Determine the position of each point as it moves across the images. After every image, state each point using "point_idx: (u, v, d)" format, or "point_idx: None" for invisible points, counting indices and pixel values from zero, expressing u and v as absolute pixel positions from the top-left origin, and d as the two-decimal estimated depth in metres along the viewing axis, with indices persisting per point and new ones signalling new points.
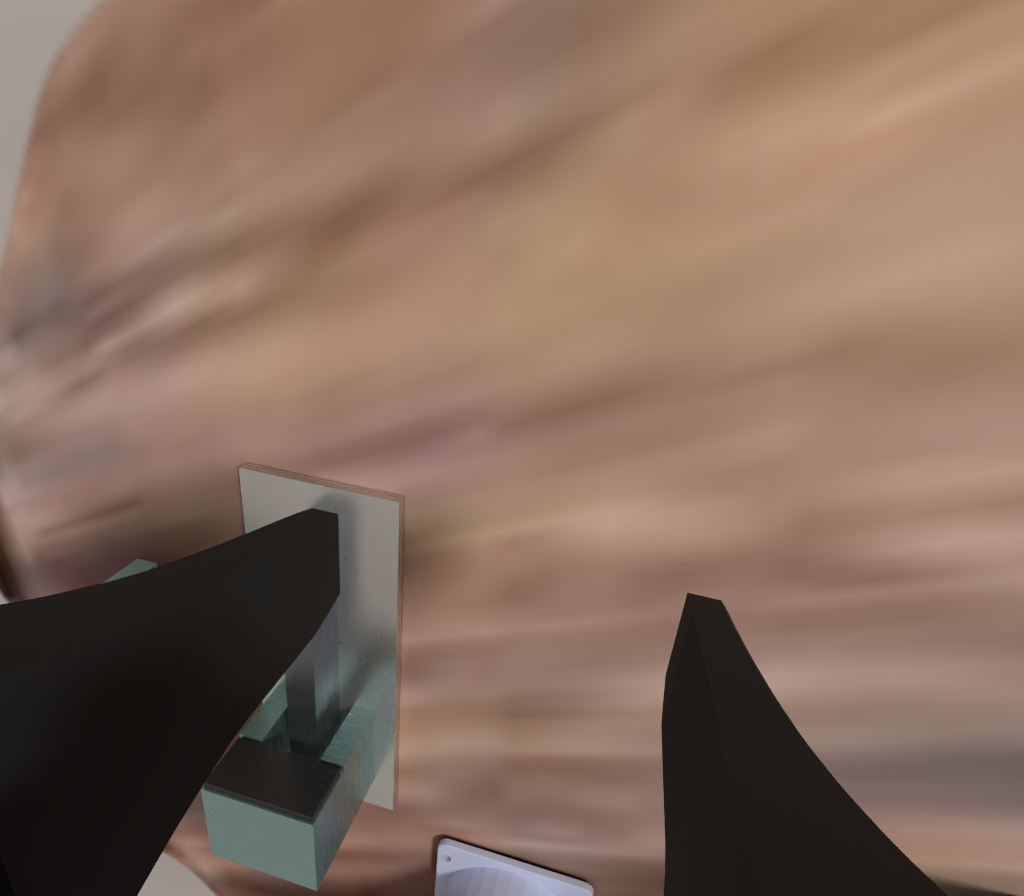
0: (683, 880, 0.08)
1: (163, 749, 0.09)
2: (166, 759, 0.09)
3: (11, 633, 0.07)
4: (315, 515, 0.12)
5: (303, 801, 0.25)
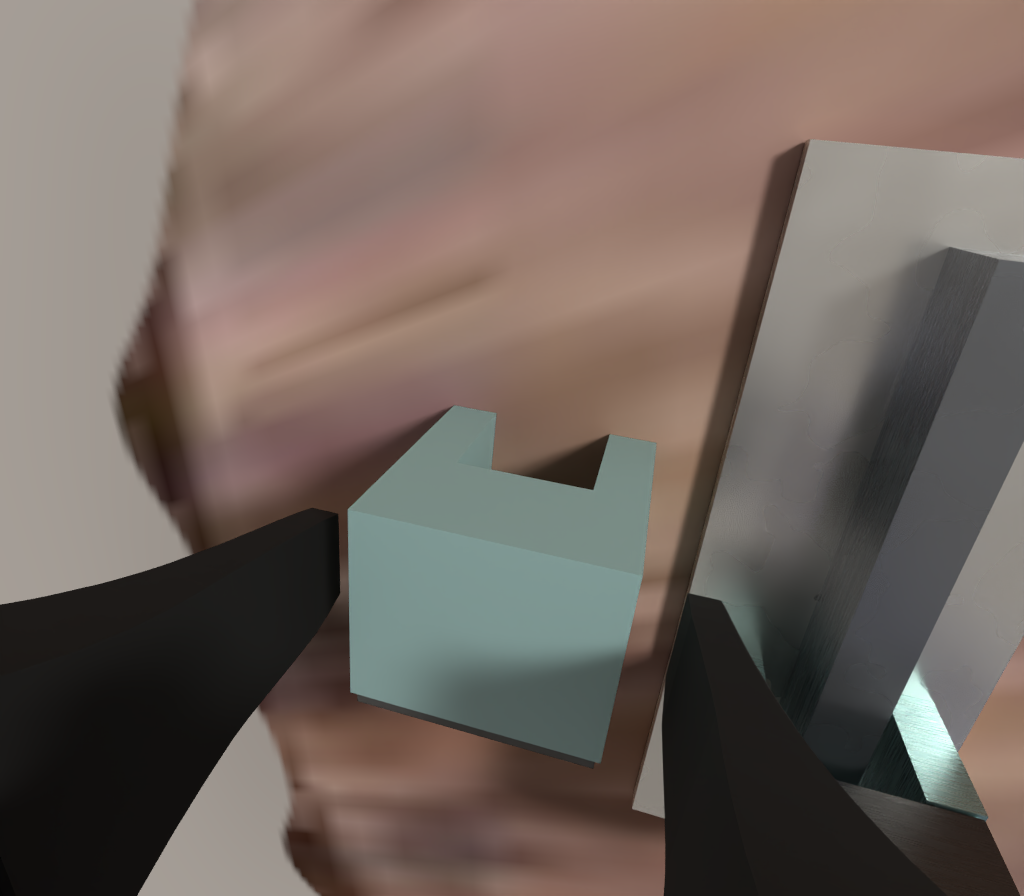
0: (683, 880, 0.08)
1: (163, 749, 0.09)
2: (166, 759, 0.09)
3: (12, 632, 0.07)
4: (315, 515, 0.12)
5: None
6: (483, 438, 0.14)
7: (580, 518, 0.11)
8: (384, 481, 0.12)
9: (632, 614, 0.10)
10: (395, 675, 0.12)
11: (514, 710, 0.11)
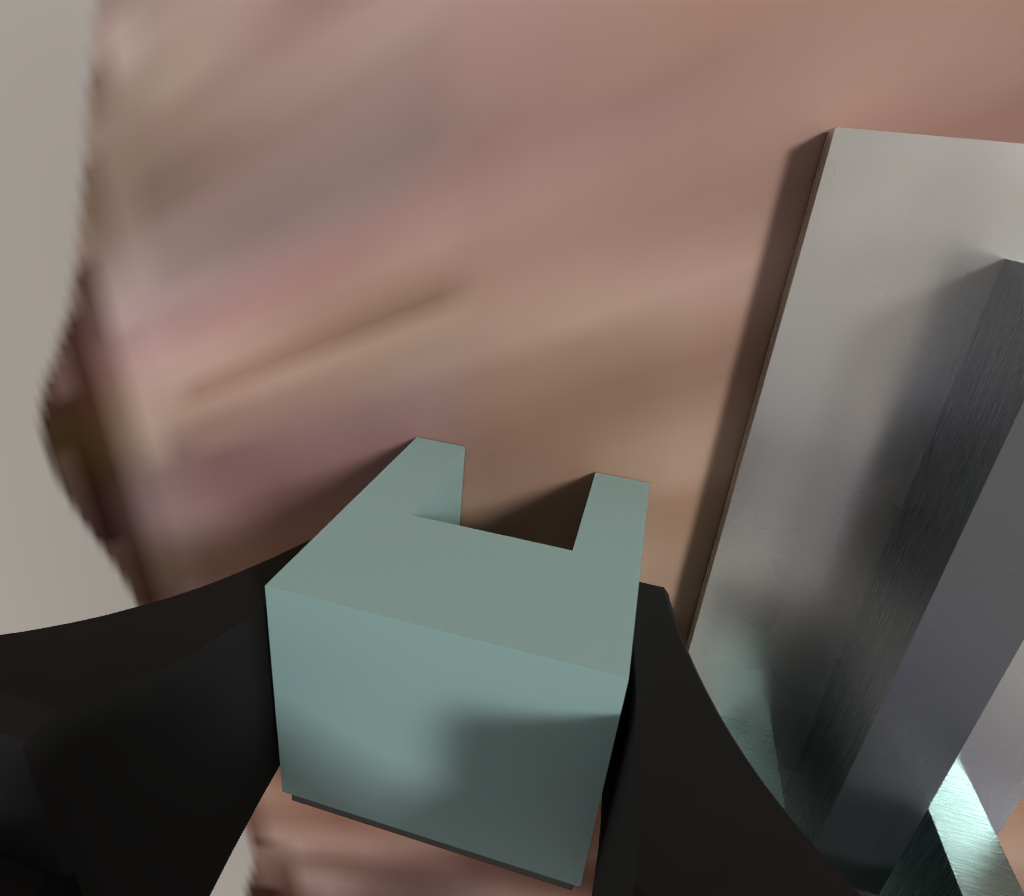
0: (605, 856, 0.08)
1: (225, 769, 0.09)
2: (227, 779, 0.09)
3: (85, 654, 0.07)
4: None
5: None
6: (448, 478, 0.12)
7: (554, 592, 0.09)
8: (317, 543, 0.10)
9: (616, 722, 0.08)
10: (333, 776, 0.10)
11: (475, 822, 0.09)
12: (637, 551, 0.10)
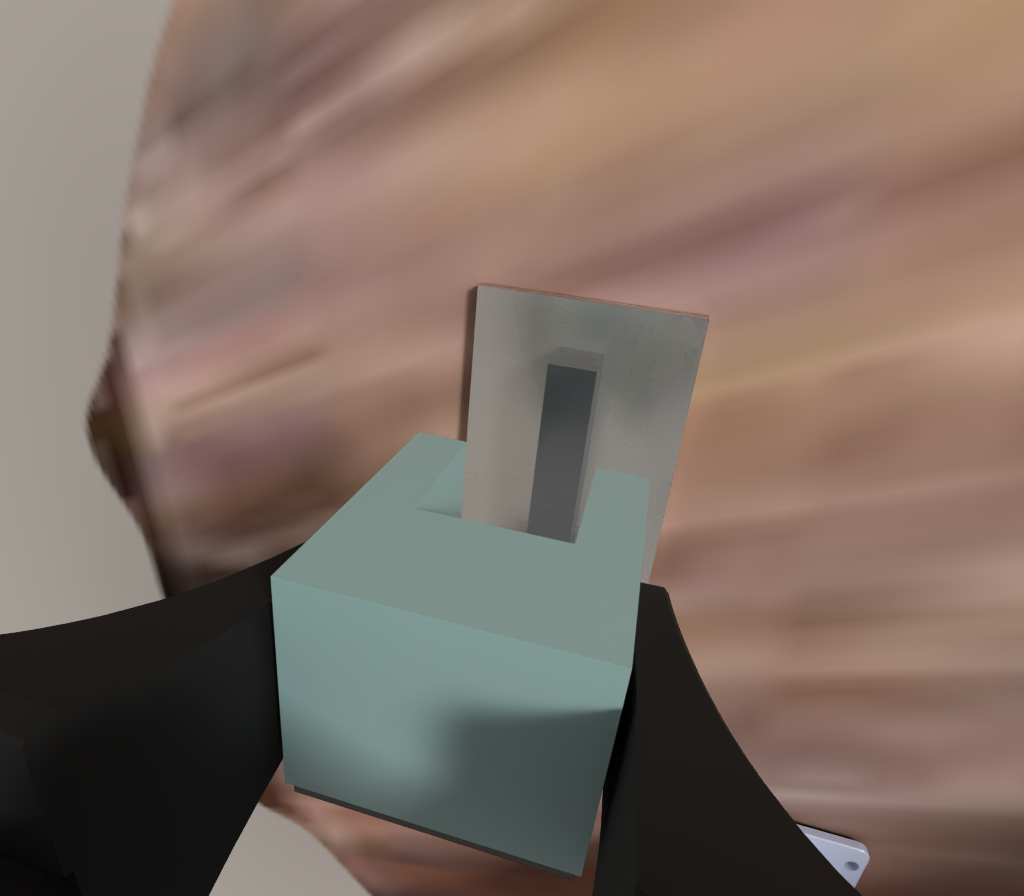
0: (606, 856, 0.08)
1: (224, 769, 0.09)
2: (226, 778, 0.09)
3: (83, 654, 0.07)
4: None
5: None
6: (450, 473, 0.13)
7: (557, 584, 0.09)
8: (321, 536, 0.10)
9: (619, 712, 0.08)
10: (336, 767, 0.10)
11: (477, 813, 0.09)
12: (638, 545, 0.10)
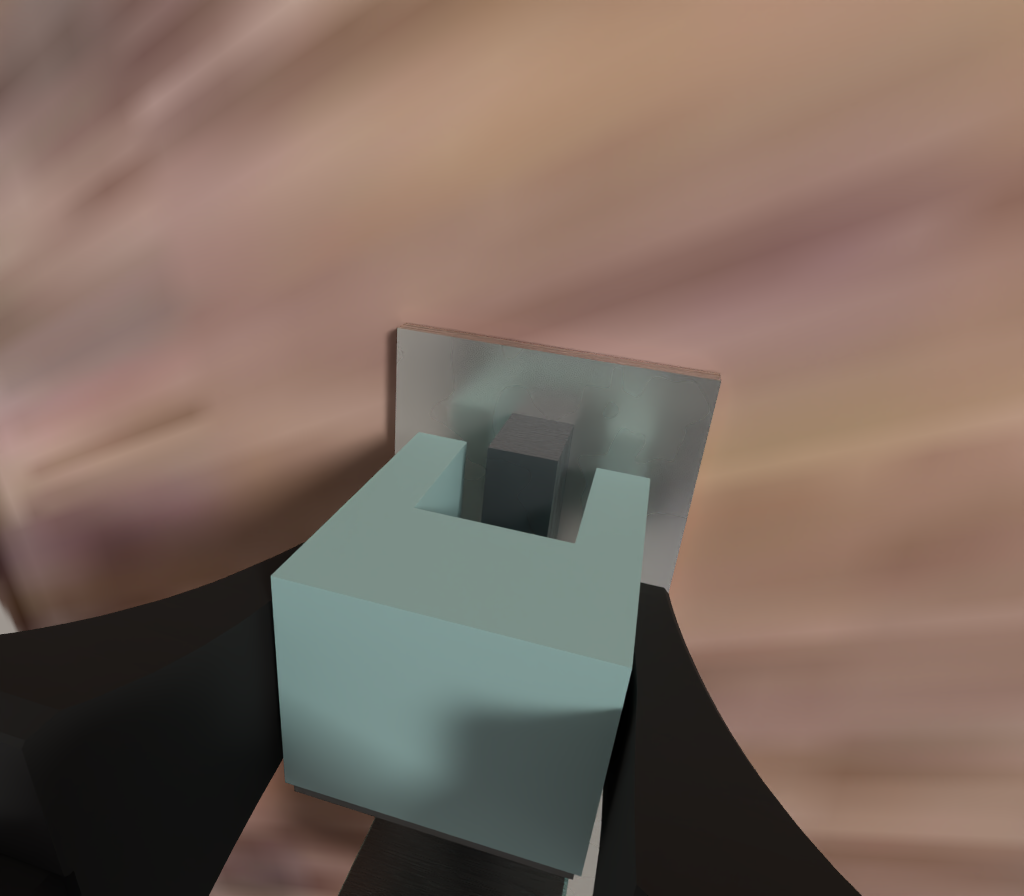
0: (606, 856, 0.08)
1: (224, 768, 0.09)
2: (227, 778, 0.09)
3: (83, 654, 0.07)
4: None
5: None
6: (450, 472, 0.13)
7: (557, 584, 0.09)
8: (322, 535, 0.10)
9: (619, 712, 0.08)
10: (336, 766, 0.10)
11: (477, 813, 0.09)
12: (639, 544, 0.10)
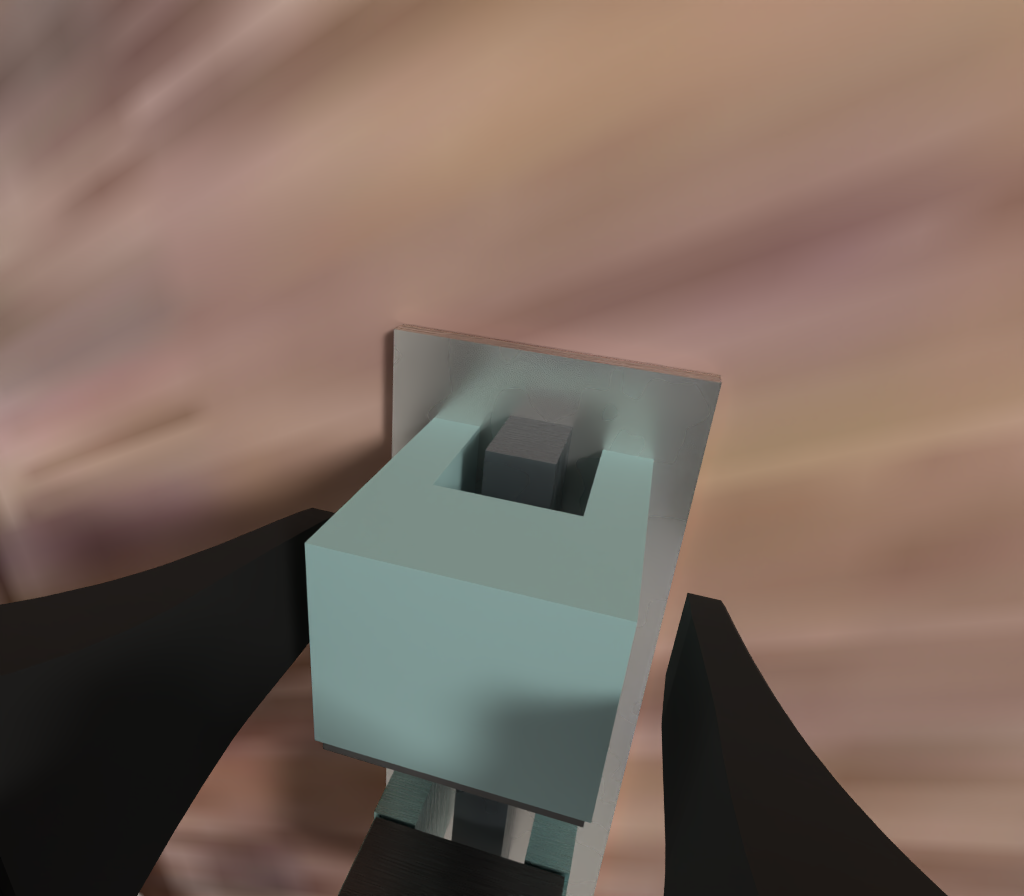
0: (683, 880, 0.08)
1: (163, 749, 0.09)
2: (166, 759, 0.09)
3: (11, 633, 0.07)
4: (315, 515, 0.12)
5: None
6: (464, 454, 0.13)
7: (568, 550, 0.10)
8: (348, 508, 0.10)
9: (626, 664, 0.09)
10: (363, 723, 0.11)
11: (494, 764, 0.10)
12: (643, 517, 0.11)
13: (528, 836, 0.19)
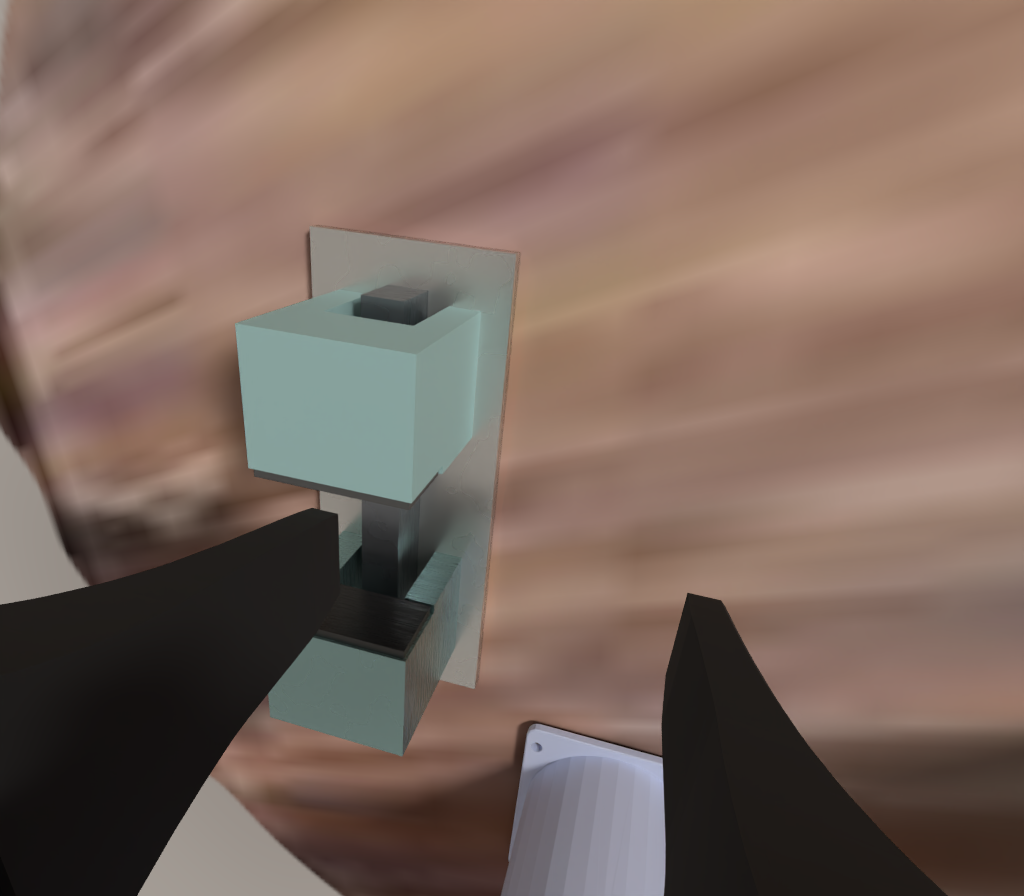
0: (683, 880, 0.08)
1: (163, 749, 0.09)
2: (166, 759, 0.09)
3: (11, 633, 0.07)
4: (315, 515, 0.12)
5: (391, 636, 0.20)
6: (355, 307, 0.20)
7: (394, 334, 0.17)
8: (266, 315, 0.17)
9: (414, 383, 0.16)
10: (276, 450, 0.17)
11: (353, 468, 0.17)
12: (452, 328, 0.18)
13: None
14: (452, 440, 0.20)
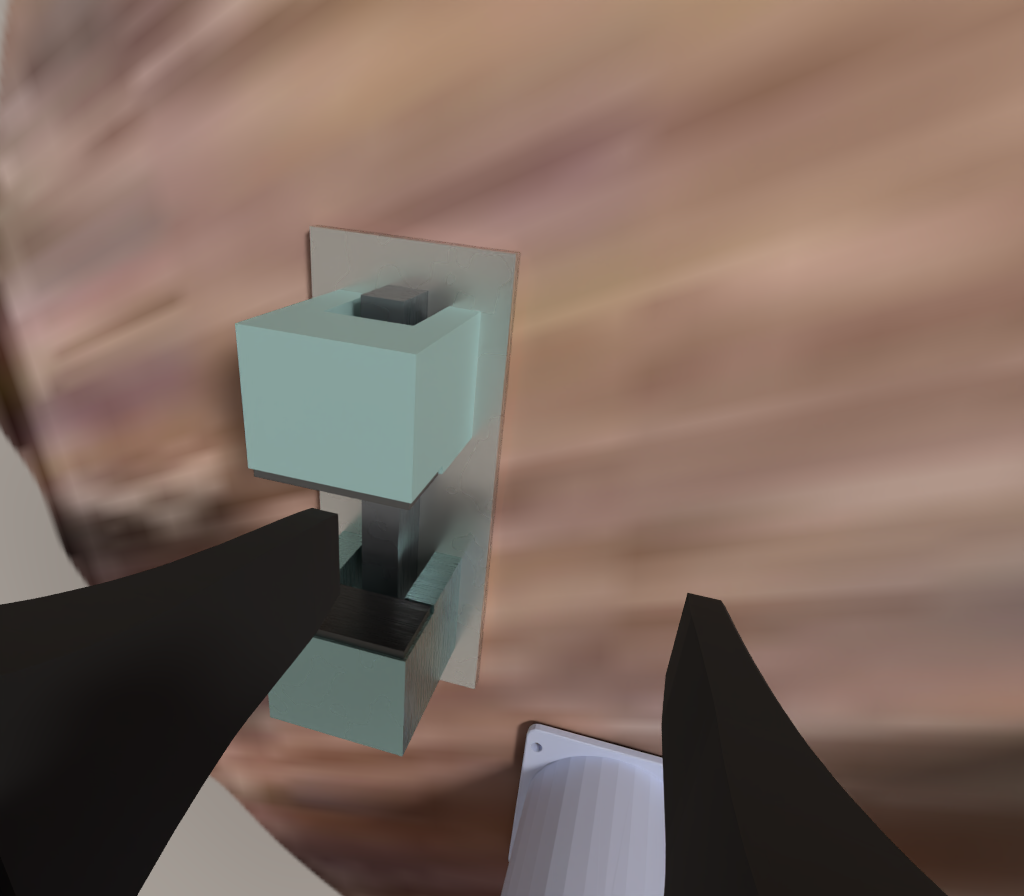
0: (683, 880, 0.08)
1: (163, 749, 0.09)
2: (166, 759, 0.09)
3: (11, 633, 0.07)
4: (315, 515, 0.12)
5: (391, 636, 0.20)
6: (355, 307, 0.20)
7: (394, 334, 0.17)
8: (265, 315, 0.17)
9: (414, 383, 0.16)
10: (276, 450, 0.17)
11: (353, 468, 0.17)
12: (452, 328, 0.18)
13: None
14: (452, 440, 0.20)
